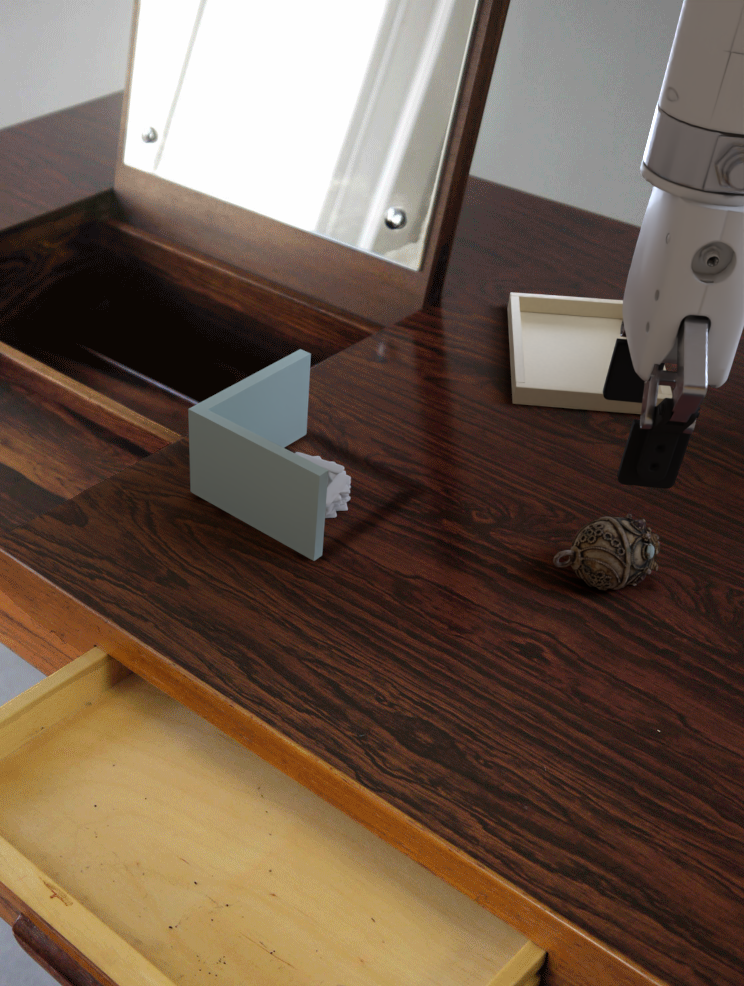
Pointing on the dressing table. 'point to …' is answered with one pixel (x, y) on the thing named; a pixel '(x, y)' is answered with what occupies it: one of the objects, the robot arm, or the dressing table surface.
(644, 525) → the pendant
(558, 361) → the cream shallow tray
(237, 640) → the dressing table surface
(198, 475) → the l-shaped corner panel
